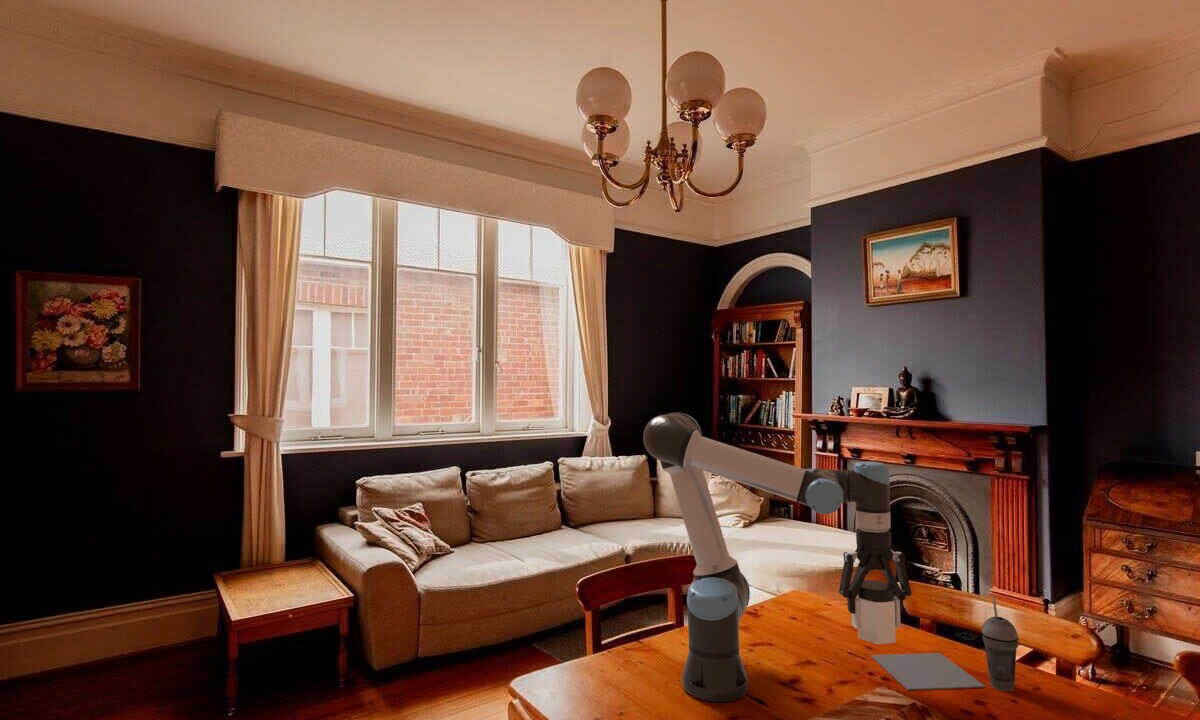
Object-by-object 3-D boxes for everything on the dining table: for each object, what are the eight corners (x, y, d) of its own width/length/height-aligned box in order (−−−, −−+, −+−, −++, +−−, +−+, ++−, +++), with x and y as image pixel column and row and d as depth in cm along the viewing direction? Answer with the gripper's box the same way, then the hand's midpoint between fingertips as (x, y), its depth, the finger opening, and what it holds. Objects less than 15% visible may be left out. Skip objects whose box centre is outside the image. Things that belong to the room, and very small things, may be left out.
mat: (907, 690, 142) (907, 689, 142) (870, 656, 160) (870, 655, 160) (985, 687, 143) (985, 686, 143) (939, 654, 161) (939, 652, 161)
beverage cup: (1003, 696, 138) (999, 605, 139) (975, 682, 145) (971, 594, 146) (1029, 691, 140) (1024, 601, 141) (1000, 677, 147) (996, 591, 148)
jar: (904, 638, 145) (902, 586, 145) (887, 648, 139) (885, 593, 140) (866, 627, 152) (865, 577, 152) (849, 636, 146) (847, 584, 147)
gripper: (834, 533, 142) (836, 634, 142) (927, 531, 143) (930, 631, 142) (821, 525, 150) (824, 621, 149) (910, 524, 151) (912, 619, 150)
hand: (875, 626), depth 146 cm, fingers closed on jar, 9 cm apart
